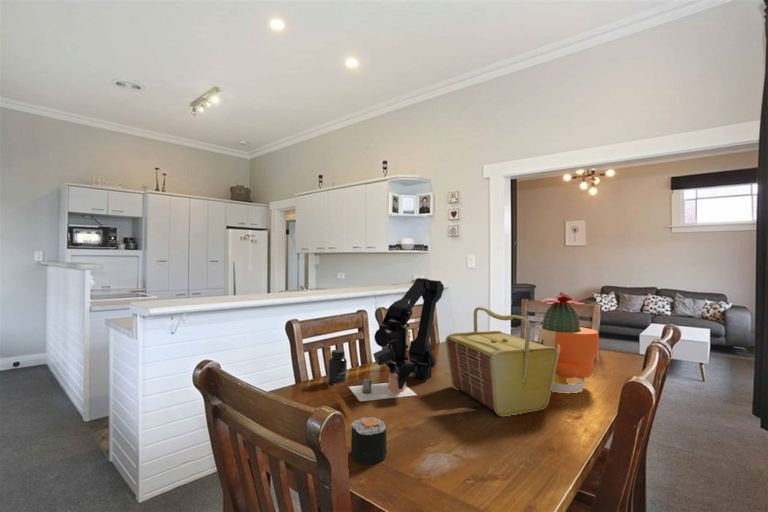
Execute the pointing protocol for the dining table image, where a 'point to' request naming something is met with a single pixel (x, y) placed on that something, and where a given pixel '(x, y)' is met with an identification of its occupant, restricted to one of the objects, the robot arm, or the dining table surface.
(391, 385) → the terracotta cap
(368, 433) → the sushi
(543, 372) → the picnic basket
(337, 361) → the supplement bottle
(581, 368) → the potted cactus
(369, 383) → the metal post
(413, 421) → the dining table surface
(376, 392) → the off-white board
